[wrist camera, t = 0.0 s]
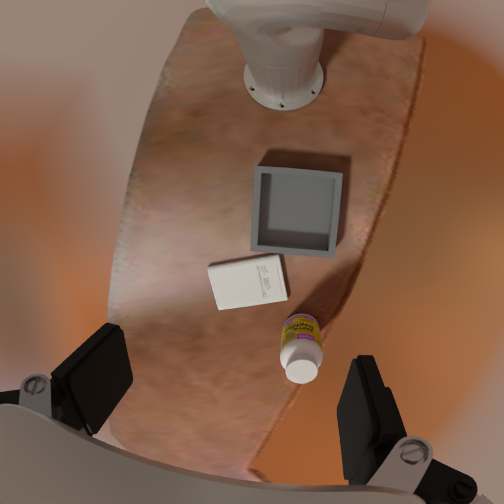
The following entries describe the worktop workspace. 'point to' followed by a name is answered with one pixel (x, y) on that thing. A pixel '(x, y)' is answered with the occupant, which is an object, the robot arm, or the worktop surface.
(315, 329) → the supplement bottle
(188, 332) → the worktop surface
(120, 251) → the worktop surface
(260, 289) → the external hard drive
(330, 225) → the tray
